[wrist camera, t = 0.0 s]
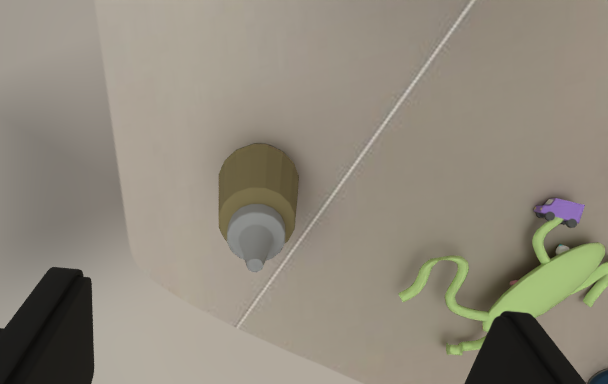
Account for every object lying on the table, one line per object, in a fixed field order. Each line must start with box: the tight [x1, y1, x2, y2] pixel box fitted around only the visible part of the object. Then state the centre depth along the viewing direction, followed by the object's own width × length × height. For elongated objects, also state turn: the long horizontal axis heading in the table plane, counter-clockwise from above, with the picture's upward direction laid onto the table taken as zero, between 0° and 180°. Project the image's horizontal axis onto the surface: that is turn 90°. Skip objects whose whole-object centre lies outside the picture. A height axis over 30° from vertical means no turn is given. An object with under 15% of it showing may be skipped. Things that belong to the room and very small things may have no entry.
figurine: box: [398, 198, 608, 355], centre depth 54 cm, size 18×27×6 cm
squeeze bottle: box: [219, 143, 299, 272], centre depth 40 cm, size 8×8×18 cm
